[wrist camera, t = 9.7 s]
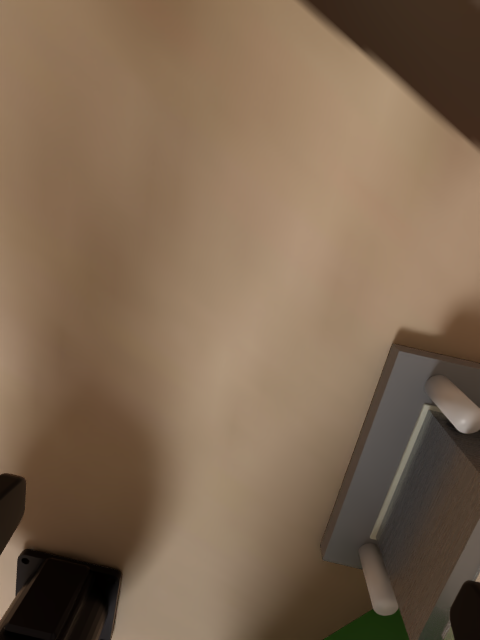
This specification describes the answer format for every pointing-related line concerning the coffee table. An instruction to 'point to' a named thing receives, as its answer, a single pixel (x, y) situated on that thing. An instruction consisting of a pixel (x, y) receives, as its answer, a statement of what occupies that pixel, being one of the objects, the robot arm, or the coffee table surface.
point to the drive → (433, 527)
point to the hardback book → (373, 628)
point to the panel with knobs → (394, 455)
